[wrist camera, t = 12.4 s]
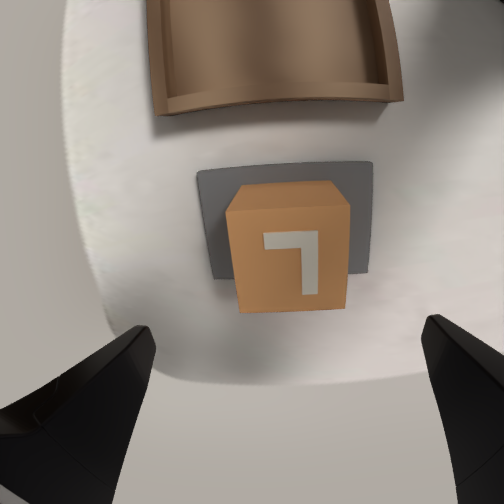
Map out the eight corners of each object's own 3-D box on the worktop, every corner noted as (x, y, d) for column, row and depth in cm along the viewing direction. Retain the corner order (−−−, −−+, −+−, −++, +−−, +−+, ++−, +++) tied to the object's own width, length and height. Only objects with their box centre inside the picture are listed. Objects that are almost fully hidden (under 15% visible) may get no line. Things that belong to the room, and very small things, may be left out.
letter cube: (330, 180, 15) (350, 206, 11) (330, 260, 18) (345, 309, 13) (241, 185, 16) (224, 212, 12) (250, 264, 18) (239, 314, 14)
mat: (369, 161, 15) (372, 162, 15) (365, 268, 18) (367, 272, 18) (199, 170, 17) (196, 172, 16) (215, 274, 20) (213, 279, 19)
